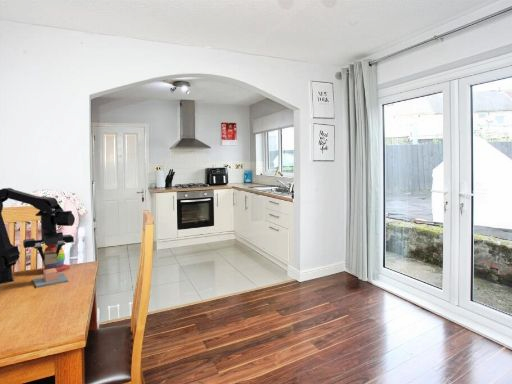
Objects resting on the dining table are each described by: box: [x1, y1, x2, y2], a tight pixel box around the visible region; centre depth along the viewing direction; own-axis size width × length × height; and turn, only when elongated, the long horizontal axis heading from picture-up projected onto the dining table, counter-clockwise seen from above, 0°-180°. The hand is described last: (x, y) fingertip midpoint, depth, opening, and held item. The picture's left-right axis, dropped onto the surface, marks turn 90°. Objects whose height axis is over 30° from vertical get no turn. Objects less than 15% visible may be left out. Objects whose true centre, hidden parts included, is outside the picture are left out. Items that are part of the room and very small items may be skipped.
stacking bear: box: [42, 244, 71, 273], centre depth 158 cm, size 11×10×18 cm
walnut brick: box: [42, 251, 57, 265], centre depth 143 cm, size 6×4×4 cm
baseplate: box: [32, 272, 69, 289], centre depth 144 cm, size 12×12×1 cm
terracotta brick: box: [43, 268, 58, 282], centre depth 144 cm, size 6×4×4 cm
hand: (49, 259), depth 143 cm, fingers closed on walnut brick, 5 cm apart
